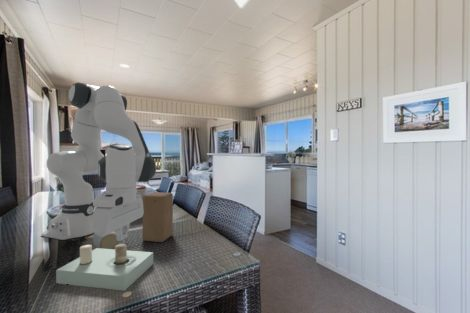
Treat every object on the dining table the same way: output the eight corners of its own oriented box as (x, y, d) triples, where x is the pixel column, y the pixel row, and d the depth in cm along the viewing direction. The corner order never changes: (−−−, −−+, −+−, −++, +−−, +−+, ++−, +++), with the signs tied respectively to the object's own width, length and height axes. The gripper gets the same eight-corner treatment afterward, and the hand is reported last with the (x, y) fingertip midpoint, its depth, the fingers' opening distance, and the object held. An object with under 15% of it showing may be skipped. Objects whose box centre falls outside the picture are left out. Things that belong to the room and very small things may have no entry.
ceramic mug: (100, 255, 88) (100, 234, 88) (92, 249, 94) (92, 229, 94) (128, 247, 96) (128, 228, 96) (119, 241, 102) (120, 224, 102)
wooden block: (162, 243, 100) (162, 196, 100) (141, 241, 102) (141, 195, 102) (173, 235, 110) (173, 192, 109) (153, 233, 112) (153, 191, 111)
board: (56, 283, 69) (56, 253, 69) (96, 259, 85) (96, 234, 85) (124, 290, 66) (124, 258, 66) (153, 263, 82) (153, 238, 81)
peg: (113, 276, 73) (112, 247, 73) (119, 270, 77) (119, 243, 76) (122, 277, 73) (122, 248, 73) (129, 271, 76) (128, 244, 76)
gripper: (131, 190, 85) (132, 228, 85) (88, 202, 65) (88, 252, 65) (148, 190, 84) (148, 229, 84) (108, 203, 64) (109, 253, 64)
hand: (122, 239), depth 74 cm, fingers closed
